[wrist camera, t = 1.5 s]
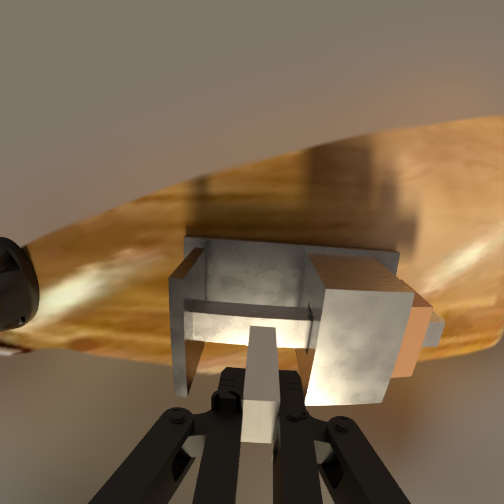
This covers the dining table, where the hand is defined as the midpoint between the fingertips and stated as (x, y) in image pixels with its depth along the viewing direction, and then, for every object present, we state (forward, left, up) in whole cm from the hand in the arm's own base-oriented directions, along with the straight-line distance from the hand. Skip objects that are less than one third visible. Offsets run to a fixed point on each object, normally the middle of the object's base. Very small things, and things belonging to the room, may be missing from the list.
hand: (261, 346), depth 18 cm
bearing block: (+4, -4, -20) cm, 21 cm away
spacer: (+15, -4, -16) cm, 22 cm away
